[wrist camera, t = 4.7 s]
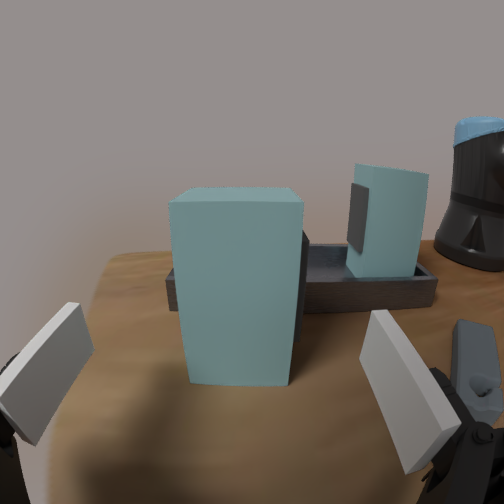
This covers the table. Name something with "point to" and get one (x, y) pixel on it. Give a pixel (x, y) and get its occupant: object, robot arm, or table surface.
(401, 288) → the dark gray tray
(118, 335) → the table surface
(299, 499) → the table surface
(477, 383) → the bracket
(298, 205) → the finger
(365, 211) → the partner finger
